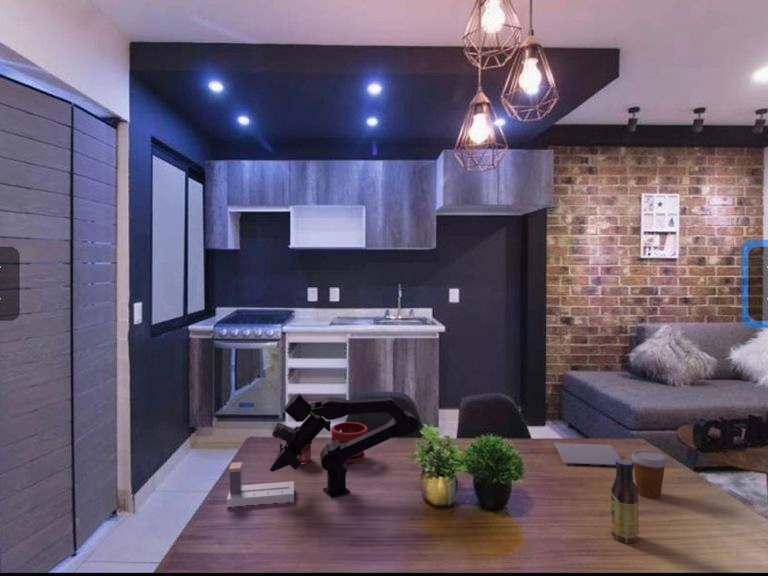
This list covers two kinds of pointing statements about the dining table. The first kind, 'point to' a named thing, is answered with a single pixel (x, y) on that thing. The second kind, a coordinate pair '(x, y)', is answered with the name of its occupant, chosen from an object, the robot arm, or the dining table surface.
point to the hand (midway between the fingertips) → (270, 470)
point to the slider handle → (235, 477)
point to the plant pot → (349, 436)
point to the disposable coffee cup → (649, 472)
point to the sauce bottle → (624, 503)
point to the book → (587, 454)
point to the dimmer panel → (262, 494)
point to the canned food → (305, 454)
